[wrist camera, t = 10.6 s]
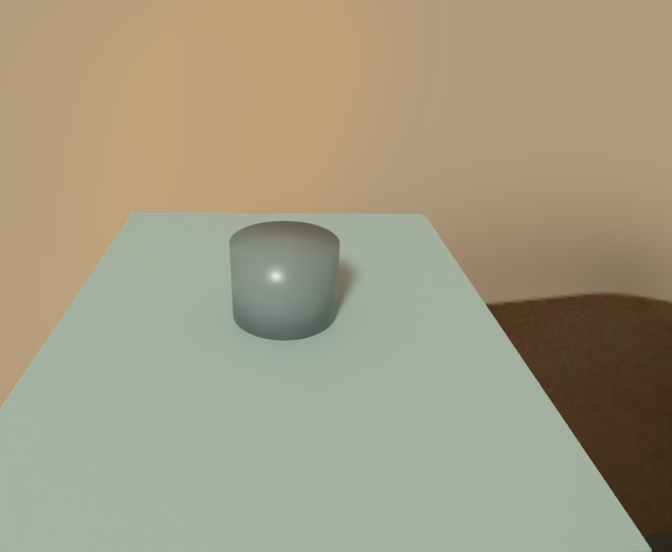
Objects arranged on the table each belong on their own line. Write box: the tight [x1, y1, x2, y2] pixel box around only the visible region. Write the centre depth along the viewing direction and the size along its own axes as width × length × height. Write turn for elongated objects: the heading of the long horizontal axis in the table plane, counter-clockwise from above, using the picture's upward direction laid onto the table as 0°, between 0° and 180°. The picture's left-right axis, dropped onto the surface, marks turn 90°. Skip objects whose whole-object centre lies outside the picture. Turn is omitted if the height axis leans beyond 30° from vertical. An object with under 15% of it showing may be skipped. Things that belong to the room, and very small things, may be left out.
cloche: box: [0, 212, 652, 552], centre depth 10 cm, size 7×9×11 cm
